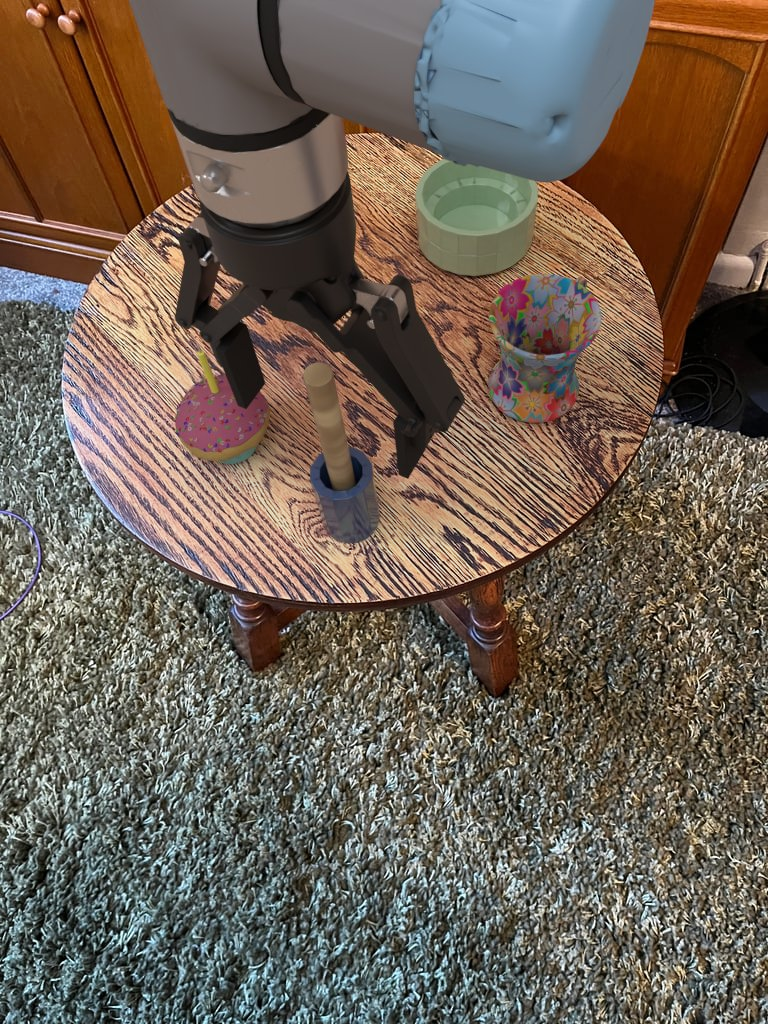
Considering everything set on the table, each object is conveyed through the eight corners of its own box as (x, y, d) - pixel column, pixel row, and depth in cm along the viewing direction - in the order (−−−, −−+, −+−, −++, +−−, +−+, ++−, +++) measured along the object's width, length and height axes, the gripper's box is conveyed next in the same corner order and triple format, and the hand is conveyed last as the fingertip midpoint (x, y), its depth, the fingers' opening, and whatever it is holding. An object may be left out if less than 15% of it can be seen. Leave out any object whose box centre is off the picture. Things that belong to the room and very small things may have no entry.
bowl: (550, 217, 84) (557, 170, 79) (503, 294, 80) (507, 249, 74) (448, 186, 88) (448, 139, 83) (397, 258, 83) (394, 213, 78)
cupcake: (187, 417, 75) (144, 334, 65) (272, 399, 75) (244, 313, 65) (195, 491, 71) (151, 416, 60) (285, 471, 71) (257, 393, 61)
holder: (389, 507, 69) (383, 459, 62) (362, 552, 67) (352, 509, 60) (341, 485, 70) (329, 437, 63) (313, 529, 68) (298, 484, 61)
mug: (549, 448, 70) (565, 375, 61) (464, 402, 74) (467, 326, 64) (613, 361, 75) (637, 280, 65) (530, 321, 78) (542, 239, 68)
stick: (366, 511, 68) (338, 368, 51) (355, 529, 67) (323, 390, 50) (347, 502, 69) (312, 358, 51) (335, 520, 68) (297, 379, 50)
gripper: (29, 159, 39) (162, 404, 58) (472, 316, 32) (461, 537, 51) (118, 74, 42) (218, 334, 61) (543, 203, 35) (508, 451, 54)
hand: (329, 427), depth 56 cm, fingers open, 13 cm apart
